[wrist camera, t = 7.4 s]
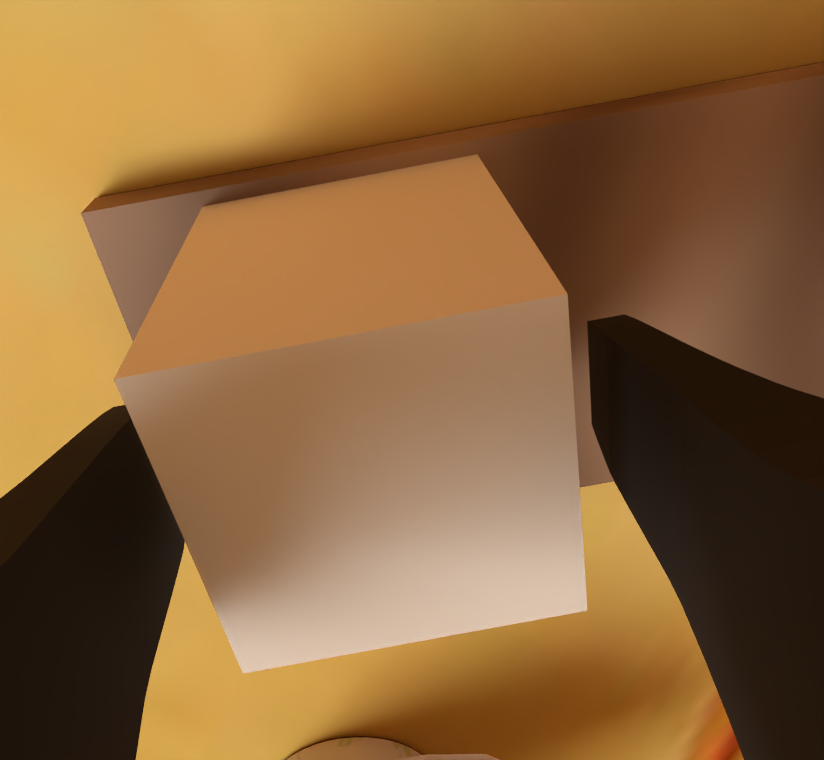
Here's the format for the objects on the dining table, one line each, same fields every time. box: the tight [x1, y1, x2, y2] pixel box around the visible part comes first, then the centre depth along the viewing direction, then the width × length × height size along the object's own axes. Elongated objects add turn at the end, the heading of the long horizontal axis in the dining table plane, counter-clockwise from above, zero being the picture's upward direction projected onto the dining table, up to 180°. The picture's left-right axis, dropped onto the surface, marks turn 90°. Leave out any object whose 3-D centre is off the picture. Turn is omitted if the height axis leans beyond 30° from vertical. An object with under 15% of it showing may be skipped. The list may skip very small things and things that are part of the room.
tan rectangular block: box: [114, 154, 587, 673], centre depth 13 cm, size 5×5×7 cm
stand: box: [81, 62, 824, 487], centre depth 17 cm, size 18×9×1 cm, turn 99°
